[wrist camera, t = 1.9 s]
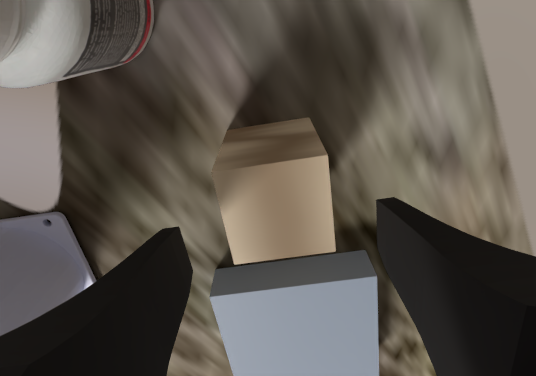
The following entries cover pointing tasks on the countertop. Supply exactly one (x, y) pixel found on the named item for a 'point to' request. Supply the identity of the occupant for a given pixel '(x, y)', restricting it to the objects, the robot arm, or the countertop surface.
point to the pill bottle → (69, 38)
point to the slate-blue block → (300, 316)
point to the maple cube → (275, 191)
